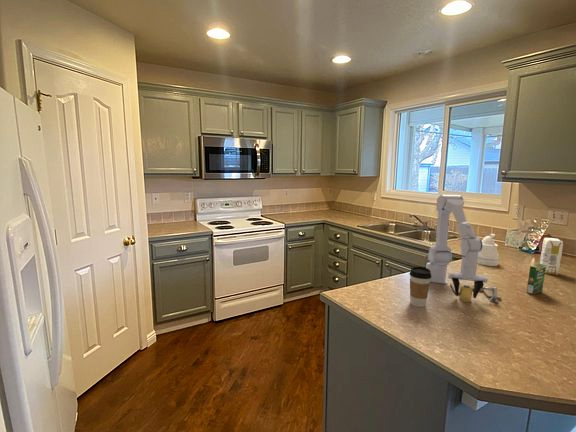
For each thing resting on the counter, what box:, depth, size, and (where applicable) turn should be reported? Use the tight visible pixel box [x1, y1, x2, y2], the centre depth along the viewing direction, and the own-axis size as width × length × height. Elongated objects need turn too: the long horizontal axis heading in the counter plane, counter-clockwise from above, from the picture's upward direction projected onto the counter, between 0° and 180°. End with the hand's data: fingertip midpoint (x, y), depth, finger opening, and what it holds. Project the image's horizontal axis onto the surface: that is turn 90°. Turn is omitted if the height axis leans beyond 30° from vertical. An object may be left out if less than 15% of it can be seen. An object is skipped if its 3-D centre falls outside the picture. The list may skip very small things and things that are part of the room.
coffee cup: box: [409, 266, 431, 308], centre depth 131 cm, size 8×8×15 cm
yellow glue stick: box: [458, 284, 473, 303], centre depth 137 cm, size 4×4×6 cm
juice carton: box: [539, 237, 564, 276], centre depth 177 cm, size 8×9×19 cm
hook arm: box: [481, 286, 500, 304], centre depth 137 cm, size 7×3×6 cm, turn 73°
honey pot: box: [477, 233, 500, 267], centre depth 193 cm, size 13×13×18 cm
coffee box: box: [526, 263, 546, 295], centre depth 146 cm, size 8×3×13 cm, turn 115°
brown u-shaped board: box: [450, 282, 502, 301], centre depth 146 cm, size 18×12×1 cm, turn 73°
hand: (465, 296), depth 137 cm, fingers open, 6 cm apart
